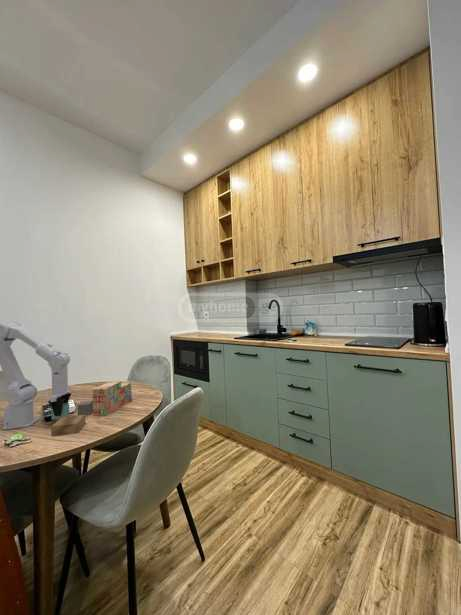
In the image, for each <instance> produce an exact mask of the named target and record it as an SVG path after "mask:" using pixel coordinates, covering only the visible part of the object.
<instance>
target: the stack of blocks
mask: <svg viewBox="0 0 461 615" xmlns="http://www.w3.org/2000/svg"><path fill="white" fill-rule="evenodd" d="M92 394H93V396H92V401H93V416H96V417H97V416H98V417H100V416H101V417H105V416H108V415H109V414H112V413H113V412H116V411H117V410H118V409H120V408H121V407H123V406H124V405H126V404H127V403H129V402H130V400H131V401H132V399H133V398H132V385H131V382H121V381H108V382H105V383H104V384H102V385H99V386H98V387H97V386H96V387H95V388H92ZM125 403H126V404H125ZM122 405H123V406H122Z"/></svg>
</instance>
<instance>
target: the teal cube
mask: <svg viewBox="0 0 461 615" xmlns="http://www.w3.org/2000/svg"><path fill="white" fill-rule="evenodd" d="M50 409H51V412H50V413H51V421H53V420H59V419H60V418H62V417H69V415H70V402H68V403H63V406H62V413H61V415H60V416H55V415H54V412H53V409H52V407H50Z"/></svg>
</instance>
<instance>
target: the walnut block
mask: <svg viewBox="0 0 461 615" xmlns="http://www.w3.org/2000/svg"><path fill="white" fill-rule="evenodd" d="M85 425H86V416H85V415H78V414H77V415H73V416H72V415H70V416H67V417H62V418H60V419H57V420H56V422H55V423H53V424H52V425H51V427H50V431H51V433H50V436H51V437H58V436H65V435H72V434H79V432H80V431H81V430H82V429H83V427H84V426H85Z"/></svg>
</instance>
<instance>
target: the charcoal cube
mask: <svg viewBox="0 0 461 615" xmlns="http://www.w3.org/2000/svg"><path fill="white" fill-rule="evenodd" d="M92 413H94V404H93V400H88V401H81V402H80V403H79V404H78V405H77V416H78V415H85V417H86V416H90V415H92Z"/></svg>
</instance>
